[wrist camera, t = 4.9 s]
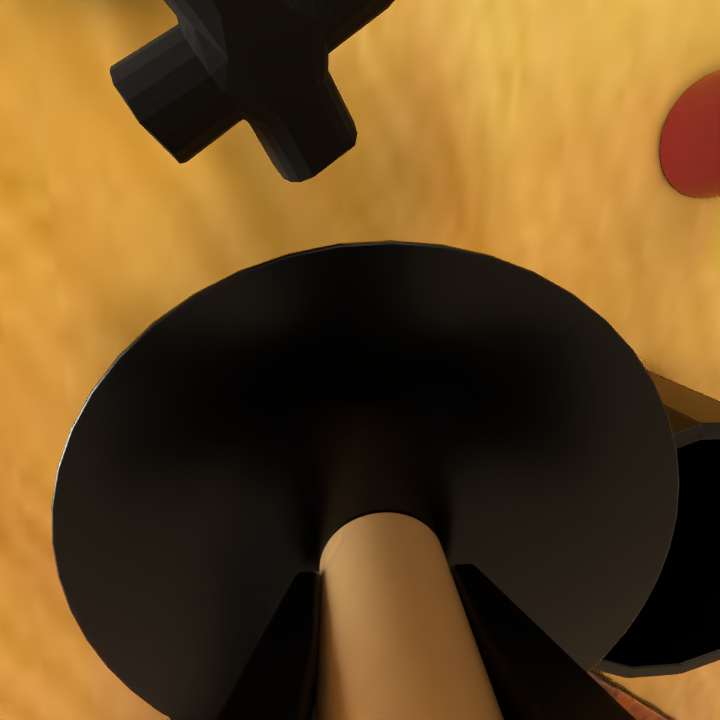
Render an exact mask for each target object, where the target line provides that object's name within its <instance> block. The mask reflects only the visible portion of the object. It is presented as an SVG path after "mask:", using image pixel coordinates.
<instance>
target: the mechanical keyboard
mask: <svg viewBox="0 0 720 720" xmlns="http://www.w3.org/2000/svg"><path fill="white" fill-rule="evenodd" d="M588 674H589V675H590V676H591V677H592V678H593V679H594V680H595V681H596V682H597V683H598V684H599V685H600V686H602V687H603V688H604V689H605V690H606V691H607V692H608V693H609V694H610V695H611V696H612V697H613V698H614V699H615V700H616V701H617V702H618V703H619V704H620V705H621V706H622V707H624V708H625V709H626V710H627V711H628V712H629V713H630V714H631V715H632V716H633V717H634V718H635V719H636V720H669V719H668V718H666V717H665V716H663V715H662V713H661V712H659V711H658V710H656V709H655V708H653V707H651V706H649V707H648V706H646V705H645V704H644V703H641V702H640V701H638V700H637V699H636V698H634V697H633V696H631V695H630V694H629V693H628V692H626V691H624V690H621V689H618V687H617V686H615V685H613V684H611V683H610V682H609V681H607V680H606V679H605V678H603V677H602V676H600V675H599V674H597V673H594V672H592V671H591V670H590V671H589V672H588Z"/></svg>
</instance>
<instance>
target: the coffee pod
mask: <svg viewBox="0 0 720 720" xmlns="http://www.w3.org/2000/svg"><path fill="white" fill-rule="evenodd" d="M660 159H661V164H662V168H663V171H664V174H665V176H666V178H667V180H668V181H669V182H670V184H671V185H672V186H673V187H674V188H675V189H676V190H678V191H679V192H681V193H682V194H685V195H687V196H690V197H694V198H711V197H720V70H718V71H716V72H713V73H711V74H709V75H707V76H705V77H703V78H701V79H700V80H698V81H697V82H695V83H694V84H693V85H692V86H691V87H689V88H688V89H687V90H686V91H685V93H684V94H683V95H682V96H681V97H680V98H679V99H678V101H677V102H676V103H675V105H674V107H673V108H672V110H671V112H670V114H669V116H668V118H667V120H666V123H665V125H664V128H663V132H662V136H661V142H660Z"/></svg>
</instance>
